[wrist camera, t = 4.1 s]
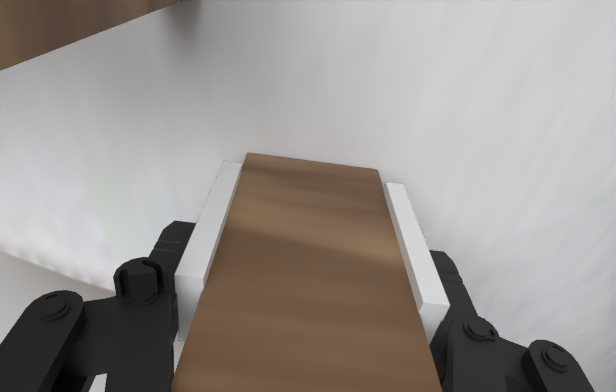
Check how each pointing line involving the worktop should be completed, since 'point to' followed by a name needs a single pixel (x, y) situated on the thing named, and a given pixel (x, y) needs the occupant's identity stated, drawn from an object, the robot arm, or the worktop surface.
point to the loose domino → (307, 290)
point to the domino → (61, 23)
